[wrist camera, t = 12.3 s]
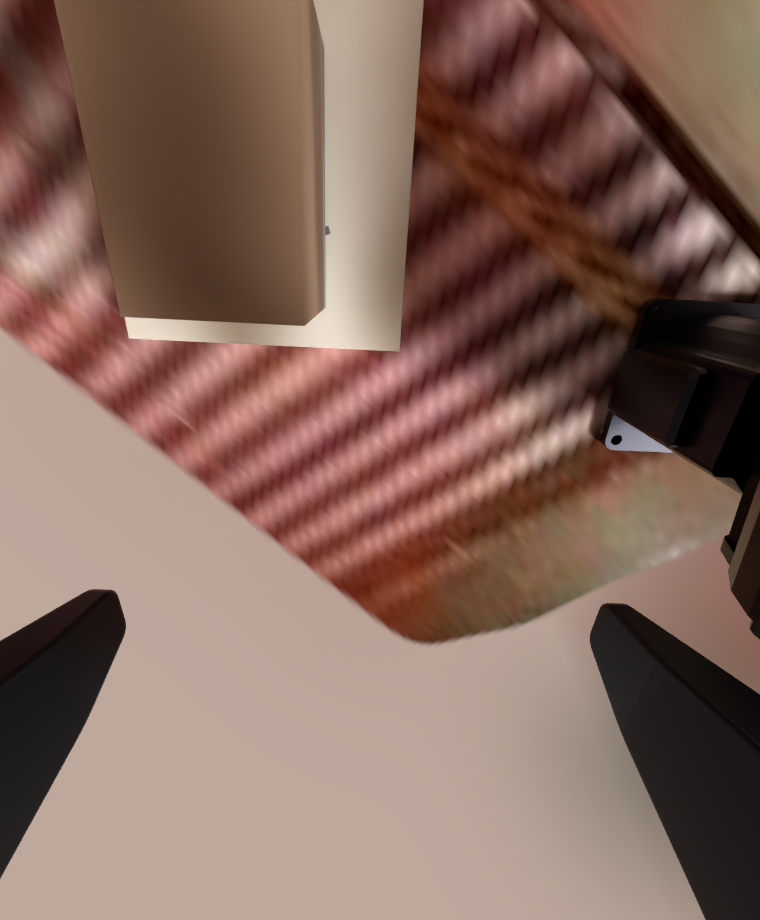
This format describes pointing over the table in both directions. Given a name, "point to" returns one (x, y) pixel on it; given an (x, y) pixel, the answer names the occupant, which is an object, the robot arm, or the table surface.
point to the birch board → (351, 185)
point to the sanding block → (205, 153)
